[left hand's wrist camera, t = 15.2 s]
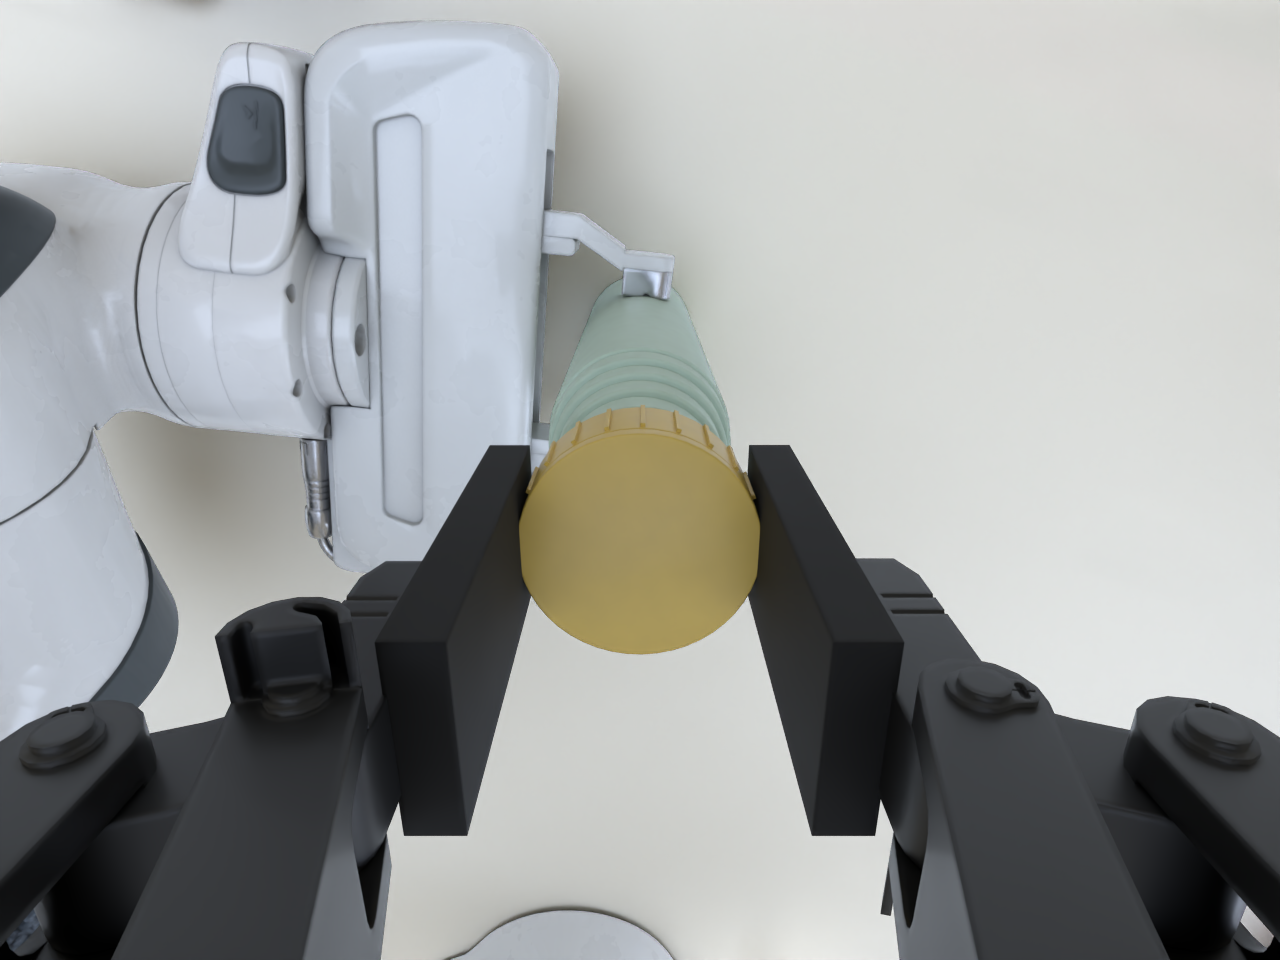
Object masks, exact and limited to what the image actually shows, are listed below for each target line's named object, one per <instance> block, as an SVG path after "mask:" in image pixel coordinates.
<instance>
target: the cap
mask: <svg viewBox="0 0 1280 960" xmlns="http://www.w3.org/2000/svg"><path fill="white" fill-rule="evenodd" d="M525 493H527V494H528V496H527V499H526V502H525V504H524V507H523V510H522V513H521V517H520V520H519V536H520V552H521V567H522V577H523V580H524V582H525V584H526V586H527V588H528V590H529V593H530V594H531V596H532V597H533V599H534V600H535V602H536V603H537V605H538V606H539V608H540V609H541V610H542V611H543V612H544V613H545V615H546V616H547V617H548V618H549V619H550V620H552V621H553V622H554V623H555V624H556V625H557V626H558V627H560V628H561V629H562V630H564V631H565V632H567V633H568V634H570V635H571V636H573V637H575V638H577V639H579V640H581V641H582V642H584V643H587V644H590V645H592V646H595V647H597V648H601V649H605V650H608V651H612V652H619V653H625V654H653V653H661V652H666V651H672V650H675V649H678V648H681V647H685V646H687V645H690V644H692V643H694V642H697V641H699V640H701V639H703V638H704V637H706V636H708V635H709V634H711V633H713V632H714V631H715V630H717V629H718V628H719V627H721V626H722V625H723V624H725V623H726V622H727V621H728V620H729V619H730V618H731V617H732V616H733V615H734V614H735V613H736V611H737V610H738V609H739V608H740V606H741V605H742V604H743V603H744V601H745V599H746V598H747V596H748V594H749V593H750V591H751V589H752V587H753V584H754V582H755V580H756V577H757V569H758V554H759V538H760V519H759V516H758V513H757V510H756V507H755V504H754V501H753V499H756V497H755V494H754V491H753V489H752V486H751V483H750V481H749V478H748V475H747V473H746V472H744V473H743V472H742V470H741V468H740V466H739V464H738V462H737V460H736V458H735V455H734V452H733V449H732V447H731V446H730V445H729V446H728V447H727V446H726V445H725V444H724V443H723V442H722V441H721V440H720V439H719V438H718V437H717V436H716V435H715V434H714V433H712V432H711V431H710V430H709V426H708V425H706V424H704V426H703V425H701V424H699V423H698V422H696V421H694V420H692V419H690V418H688V417H685V416H683V415H681V414H679V411H677V410H674V412H671V411H668V410H662V409H656V408H645V405H641V406H640V407H634V408H622V409H617V410H613V411H612V410H611V408H610V409H607V411H606V412H605V413H602V414H599V415H596V416H593V417H591V418H589V419H587V420H585V421H583V422H580V421H578V422H576V424H575V427H574V428H572V429H571V430H569V431H568V432H567V433H566V434H564V435H563V436H562V437H561V438H560V439H559V440H558V441H557V442H555V441H553V442H552V443H551V445H550V448H549V451H548V453H547V454H546V456H545V457H544V459H543V461H542V462H541V464H540V466H539V468H538V467H535V469H534V471H533V474H532V476H531V479H530V482H529V484H528V487H527V490H526V492H525Z"/></svg>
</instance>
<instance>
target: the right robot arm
mask: <svg viewBox="0 0 1280 960" xmlns="http://www.w3.org/2000/svg"><path fill="white" fill-rule="evenodd" d="M558 87H559V72H558V68H557V65H556V64H555V62H554V60H553V58H552V56H551V55H550V53H549V52H548V51H547V49H546V48H545V47H544V46H543V45H542V43H541V42H540V41H539V40H538V39H537V38H536V37H535V36H534V35H533V34H532V33H530V32H529V31H527V30H526V29H523V28H521V27H518V26H512V25H506V24H498V23H487V22H471V21H406V22H389V23H377V24H369V25H362V26H358V27H354V28H350V29H348V30H345V31H342V32H340V33H338V34H336V35H334V36H333V37H331V38H330V39H329V40H327V41H326V42H325V43H324V44H323V45H322V46H321V47H320V48H319V49H318V51H317V52H316V53H315V55H311V54H308V53H306V52H303V51H300V50H296V49H292V48H288V47H283V46H279V45H272V44H264V43H247V42H244V43H235V44H232V45H230V46H229V47H228V48H226V50H225V51H224V52H223V54H222V56H221V58H220V61H219V64H218V67H217V71H216V75H215V79H214V85H213V90H212V95H211V100H210V105H209V110H208V115H207V120H206V125H205V129H204V134H203V139H202V143H201V148H200V152H199V156H198V160H197V164H196V168H195V172H194V176H193V179H192V182H176V183H170V184H166V185H161V186H156V187H149V188H139V187H131V186H127V185H123V184H120V183H118V182H115V181H113V180H110V179H108V178H105V177H103V176H100V175H97V174H95V173H91V172H88V171H83V170H78V169H72V168H64V167H54V166H44V165H34V164H21V163H7V162H0V741H2V740H3V739H5V738H6V737H8V736H9V735H11V734H12V733H14V732H15V731H17V730H18V729H19V728H21V727H22V726H24V725H25V724H27V723H30V722H32V721H34V720H36V719H39V718H41V717H43V716H45V715H47V714H49V713H50V712H52V711H55V710H58V709H61V708H64V707H67V706H68V707H71V706H72V705H75V704H80V703H84V702H94V701H104V700H116V701H122V702H128V703H133V704H134V705H135V706H136V707H137V708H138V707H139V706H140V705H141V704H142V703H143V701H144V700H145V699H146V698H147V696H148V695H149V694H150V693H151V691H152V690H153V688H154V687H155V686H156V684H157V683H158V681H159V680H160V678H161V676H162V675H163V673H164V671H165V669H166V667H167V665H168V663H169V661H170V659H171V656H172V654H173V651H174V648H175V644H176V640H177V634H178V612H177V607H176V604H175V601H174V598H173V596H172V594H171V592H170V590H169V589H168V587H167V585H166V583H165V581H164V579H163V578H162V576H161V574H160V572H159V570H158V568H157V567H156V565H155V563H154V561H153V559H152V558H151V556H150V554H149V552H148V550H147V548H146V547H145V545H144V543H143V542H142V540H141V538H140V537H139V535H138V534H137V532H136V531H135V530H134V528H133V526H132V523H131V521H130V518H129V516H128V513H127V511H126V508H125V506H124V503H123V501H122V498H121V496H120V493H119V491H118V488H117V486H116V484H115V481H114V479H113V476H112V474H111V471H110V469H109V466H108V464H107V461H106V459H105V456H104V454H103V451H102V449H101V446H100V444H99V441H98V439H97V436H96V434H95V431H94V429H93V427H95V429H96V430H100V429H101V428H102V426H103V425H104V424H105V423H106V422H107V421H109V420H110V419H111V418H112V417H113V416H114V415H115V414H116V413H119V412H125V411H140V412H146V413H150V414H154V415H157V416H159V417H162V418H164V419H166V420H169V421H171V422H174V423H177V424H181V425H185V426H190V427H195V428H206V429H217V430H228V431H238V432H248V433H259V434H266V435H276V436H287V437H297V438H300V450H301V463H302V473H303V478H304V483H305V488H306V496H307V497H306V498H307V505H306V506H305V521H306V527H307V530H308V533H309V535H310V537H312V538H315V539H318V542H319V544H320V547H321V548H322V550H323V551H324V553H325V554H326V555H327V556H328V557H329V558H330V559H331V560H332V561H334V563H335V564H336V565H337V566H338V567H340V568H342V569H345V570H348V571H352V572H363V573H368V572H370V571H371V570H373V569H374V568H376V567H377V566H379V565H380V564H382V563H383V562H385V561H422V560H423V558H424V557H425V555H426V553H427V552H428V550H429V548H430V546H431V545H432V543H433V541H434V540H435V538H436V536H437V534H438V533H439V531H440V529H441V528H442V526H443V524H444V522H445V521H446V519H447V517H448V516H449V514H450V512H451V511H452V509H453V507H454V505H455V504H456V502H457V500H458V499H459V497H460V495H461V493H462V492H463V490H464V488H465V487H466V485H467V483H468V481H469V480H470V478H471V476H472V475H473V473H474V471H475V470H476V468H477V466H478V464H479V463H480V461H481V459H482V458H483V456H484V454H485V452H486V451H487V449H488V447H489V446H490V445H530V457H531V474H533V471H534V469H535V467H538V468H539V466H540V464H541V462H542V461H543V459H544V457H545V456H546V454H547V453H548V451H549V443H548V442H549V428H550V424H547V423H540V407H541V389H542V371H543V354H544V336H545V318H546V301H547V283H548V265H549V254H554V255H565V256H572V255H573V254H574V253H575V252H577V251H578V250H579V246H580V242H582V243H583V244H584V245H586V246H587V247H589V248H590V249H591V250H593V251H594V252H596V253H597V254H598V255H600V256H601V257H602V258H604V259H605V260H607V261H608V262H609V263H611V264H612V265H614V266H615V267H616V268H618V269H619V270H620V271H623V281H622V295H626V296H634V297H641V296H642V295H644V294H646V293H647V294H648V295H649V296H650V297H651V298H655V299H670V292H671V285H672V278H673V269H674V261H675V257H674V255H669V254H664V253H655V252H646V251H637V250H628V249H626V246H625V245H624V244H623V243H621V242H620V241H619V240H617V239H616V238H615V237H613V236H612V235H611V234H609V233H608V232H607V231H605V230H604V229H603V228H601V227H600V226H599V225H597V224H596V223H595V222H593V221H592V220H591V219H589V218H588V217H587V216H585V215H584V214H583V213H576V212H567V211H558V210H552V194H553V177H554V159H555V141H556V124H557V106H558ZM330 536H332V543H333V546H332V545H331V543H330V541H329V539H328V537H330ZM451 960H673V958H672V957H671V955H670V954H669V953H668V951H667V950H666V949H665V948H664V947H663V946H662V945H661V944H660V943H659V942H658V941H657V940H656V939H655V938H654V937H652V936H651V935H650V934H648V933H647V932H645V931H644V930H642V929H640V928H638V927H637V926H635V925H633V924H630V923H628V922H626V921H623V920H621V919H618V918H615V917H611V916H608V915H604V914H599V913H593V912H586V911H573V910H563V911H550V912H542V913H537V914H532V915H528V916H525V917H522V918H519V919H516V920H513V921H511V922H509V923H507V924H505V925H503V926H501V927H499V928H497V929H496V930H494V931H493V932H491V933H490V934H489V935H487V936H486V937H485V938H484V939H483V940H482V941H481V942H480V943H478V944H477V945H476V946H475V947H474V948H473V949H472V950H470V951H469V952H468V953H466V954H465V955H462V956H459V957H456V958H453V959H451Z"/></svg>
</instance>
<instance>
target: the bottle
mask: <svg viewBox="0 0 1280 960" xmlns="http://www.w3.org/2000/svg"><path fill="white" fill-rule="evenodd" d="M622 281H623V278H622V279H620V280H618V281H616V282H614V283H612V284H611V285H610V286H608V287H607V288H606V289H605V290H604V291H603V292H602V293H601V294H600V296H599V297H598V299H597V300H596V302H595V304H594V306H593V309H592V311H591V314H590V316H589V319H588V321H587V324H586V326H585V329H584V331H583V334H582V336H581V339H580V341H579V344H578V346H577V349H576V351H575V354H574V356H573V359H572V361H571V364H570V366H569V369H568V371H567V374H566V376H565V379H564V381H563V384H562V386H561V389H560V391H559V394H558V396H557V399H556V402H555V404H554V407H553V410H552V414H551V419H550V428H549V442H548V443H549V448H550V445H551V443H552V442H553V441H555V442H557V441H558V440H559V439H560V438H561V437H562V436H563V435H564V434H566V433H567V432H568V431H569V430H571V429H572V428H574V427H575V424H576V422H578V421H580V422H583V421H585V420H587V419H589V418H591V417H593V416H596V415H599V414H602V413H605V412H606V411H607V409H610V408H611V410H612V411H613V410H617V409H622V408H634V407H640V406H641V405H645V408H656V409H662V410H668V411H671V412H674V410H677V411H679V414H681V415H683V416H685V417H688V418H690V419H692V420H694V421H696V422H698V423H699V424H701V425H703V426H704V424H706V425H708V426H709V430H710V431H711V432H712V433H714V434H715V435H716V436H717V437H718V438H719V439H720V440H721V441H722V442H723V443H724V444H725V445H726V446H727V447H728V446H729V445H731V439H730V426H729V418H728V414H727V410H726V406H725V404H724V401H723V399H722V396H721V394H720V391H719V389H718V386H717V384H716V381H715V379H714V376H713V374H712V371H711V369H710V366H709V364H708V361H707V359H706V356H705V354H704V351H703V349H702V346H701V344H700V341H699V339H698V336H697V334H696V331H695V329H694V326H693V323H692V321H691V318H690V316H689V313H688V311H687V308H686V306H685V304H684V302H683V300H682V298H681V297H680V296H679V294H678V293H677V292H676V291H675V290H674V289H673V288H672V287H671V292H670V299H655V298H651V297H650V296H649V295H648V294H647V293H646V294H644V295H642V296H641V297H634V296H626V295H622Z"/></svg>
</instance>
